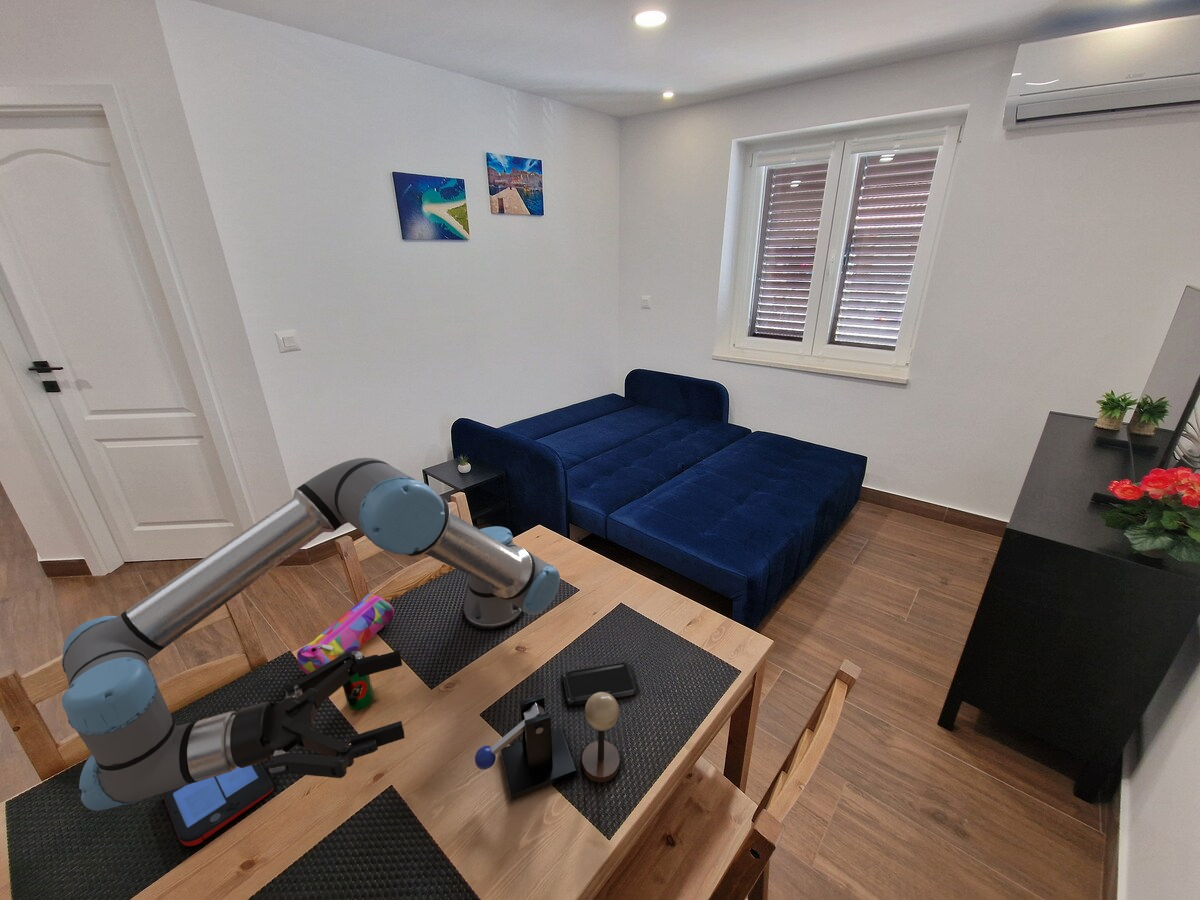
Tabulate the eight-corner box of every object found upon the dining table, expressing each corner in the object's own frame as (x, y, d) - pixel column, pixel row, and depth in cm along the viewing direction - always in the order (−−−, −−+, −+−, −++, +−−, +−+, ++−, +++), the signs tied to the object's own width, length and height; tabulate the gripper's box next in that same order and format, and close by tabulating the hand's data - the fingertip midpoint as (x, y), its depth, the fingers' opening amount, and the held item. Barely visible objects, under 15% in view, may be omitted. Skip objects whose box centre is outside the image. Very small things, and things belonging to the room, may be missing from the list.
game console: (276, 791, 85) (273, 783, 84) (186, 857, 76) (181, 848, 75) (247, 741, 93) (244, 733, 92) (163, 794, 84) (158, 786, 83)
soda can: (380, 697, 103) (370, 654, 98) (360, 716, 98) (348, 673, 94) (363, 688, 104) (352, 646, 100) (342, 706, 100) (330, 664, 95)
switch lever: (485, 777, 83) (471, 770, 82) (481, 758, 86) (468, 751, 85) (550, 723, 84) (538, 715, 82) (544, 706, 87) (532, 698, 85)
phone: (562, 672, 108) (627, 661, 111) (562, 676, 108) (627, 665, 111) (567, 703, 100) (637, 690, 103) (568, 707, 101) (637, 694, 104)
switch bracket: (510, 800, 84) (505, 743, 78) (500, 753, 92) (495, 698, 86) (576, 775, 88) (575, 719, 82) (561, 732, 96) (560, 678, 90)
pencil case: (328, 692, 103) (319, 661, 100) (295, 679, 106) (285, 648, 103) (400, 623, 122) (394, 594, 119) (370, 613, 125) (364, 585, 121)
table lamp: (576, 752, 92) (576, 688, 85) (610, 740, 95) (612, 677, 88) (589, 788, 86) (590, 722, 79) (625, 774, 89) (629, 709, 82)
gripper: (264, 686, 79) (403, 649, 86) (219, 852, 58) (408, 784, 65) (251, 652, 76) (396, 617, 83) (199, 814, 55) (399, 748, 62)
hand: (402, 690), depth 74 cm, fingers open, 13 cm apart
